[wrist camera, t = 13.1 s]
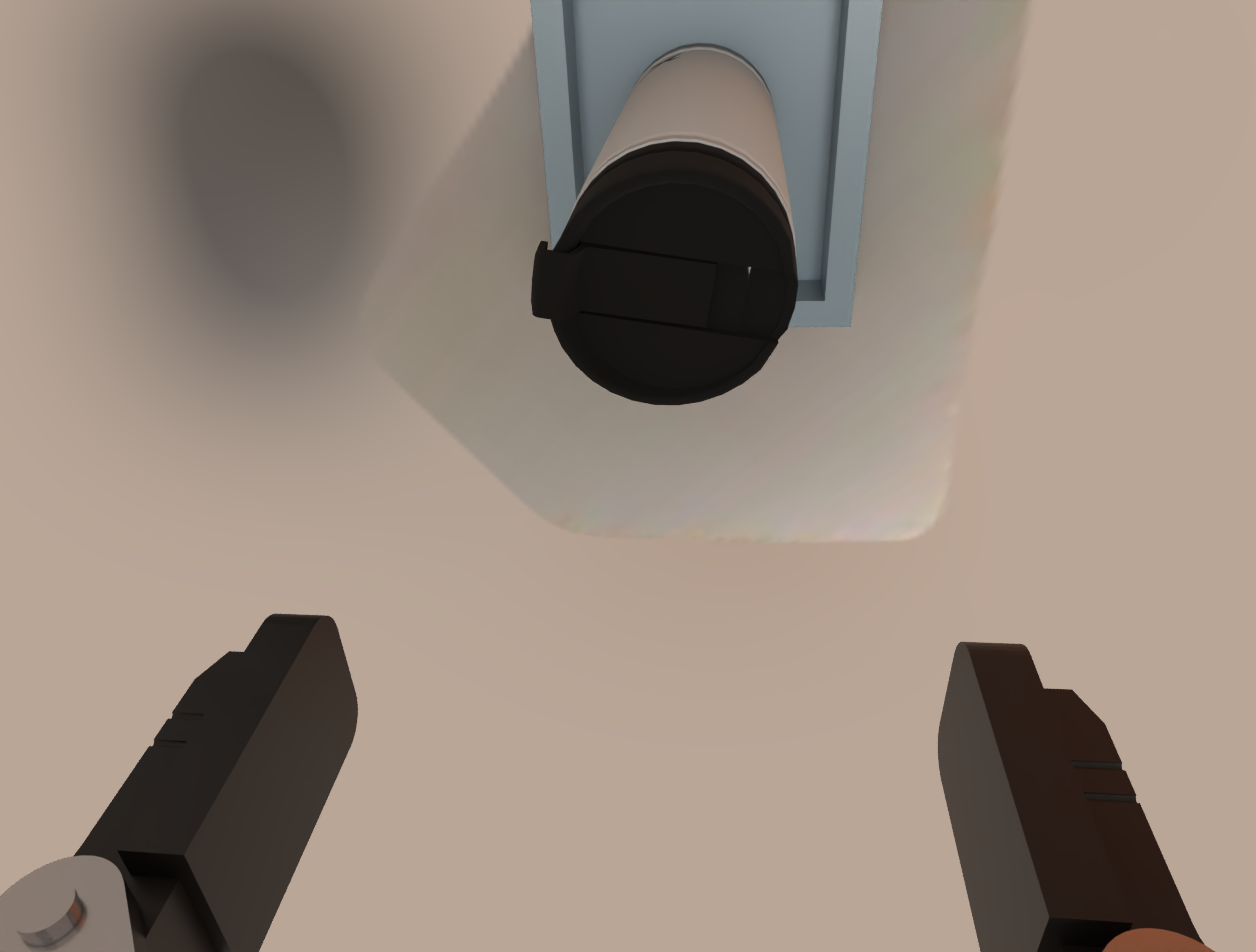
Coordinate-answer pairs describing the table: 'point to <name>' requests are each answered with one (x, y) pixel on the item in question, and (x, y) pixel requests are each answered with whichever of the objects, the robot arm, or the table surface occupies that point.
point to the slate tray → (800, 90)
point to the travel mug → (677, 237)
